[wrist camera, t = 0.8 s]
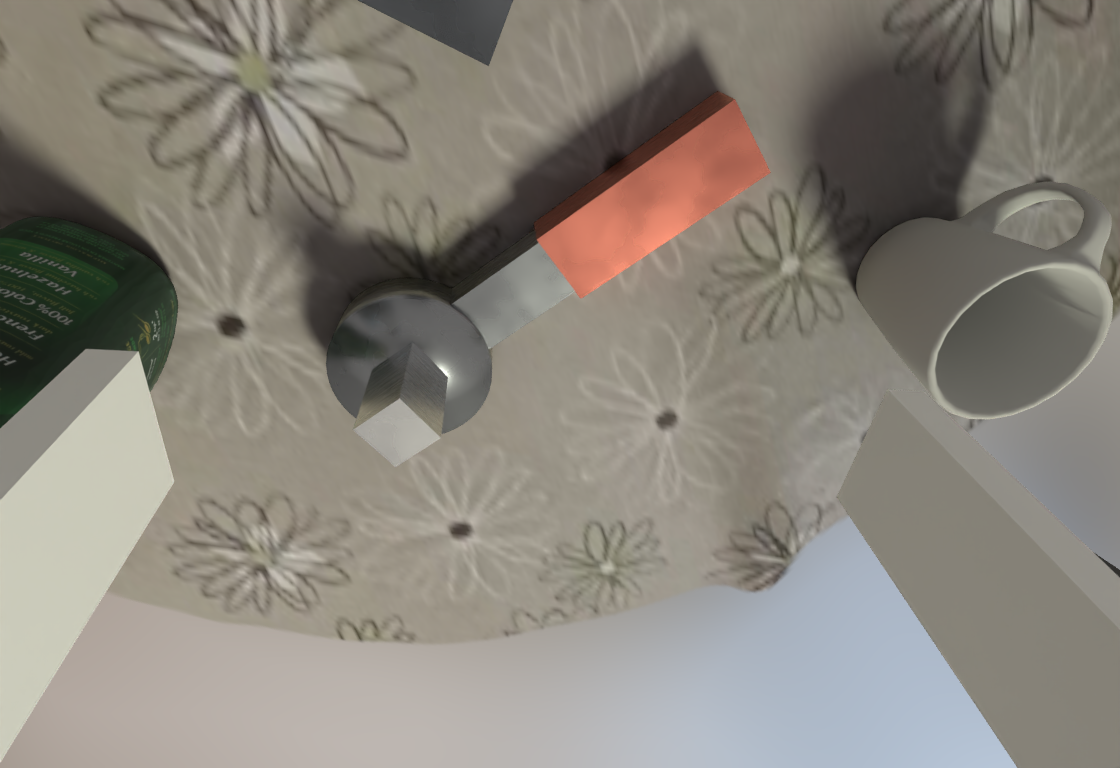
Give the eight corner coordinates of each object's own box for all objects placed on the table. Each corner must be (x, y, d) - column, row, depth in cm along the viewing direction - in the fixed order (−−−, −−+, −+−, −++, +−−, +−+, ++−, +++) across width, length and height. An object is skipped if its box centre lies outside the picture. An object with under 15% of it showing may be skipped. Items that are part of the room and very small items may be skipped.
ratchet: (409, 434, 36) (391, 529, 30) (303, 335, 32) (257, 421, 26) (770, 197, 31) (842, 253, 24) (694, 44, 27) (756, 63, 20)
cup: (807, 300, 34) (891, 385, 27) (943, 122, 29) (1087, 167, 22) (907, 352, 36) (1009, 443, 29) (1047, 195, 32) (1208, 256, 25)
